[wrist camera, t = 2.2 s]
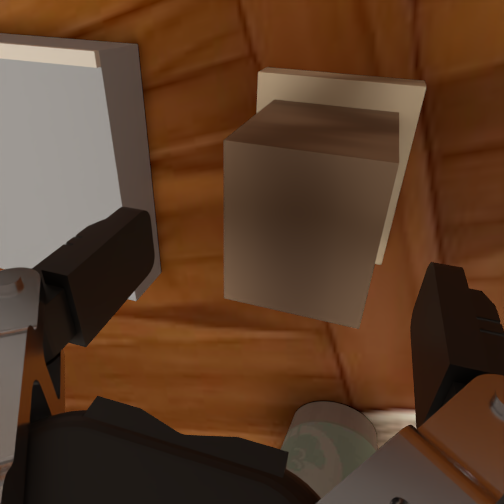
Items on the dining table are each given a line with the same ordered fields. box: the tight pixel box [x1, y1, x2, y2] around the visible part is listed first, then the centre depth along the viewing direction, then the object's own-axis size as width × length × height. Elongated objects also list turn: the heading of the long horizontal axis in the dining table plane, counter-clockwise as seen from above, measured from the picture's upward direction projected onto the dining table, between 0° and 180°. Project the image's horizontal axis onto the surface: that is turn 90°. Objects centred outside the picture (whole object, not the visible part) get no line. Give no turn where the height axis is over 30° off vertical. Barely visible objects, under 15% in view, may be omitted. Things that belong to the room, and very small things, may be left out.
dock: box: [0, 33, 161, 301], centre depth 22 cm, size 11×13×4 cm
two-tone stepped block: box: [224, 67, 426, 329], centre depth 16 cm, size 6×8×8 cm
